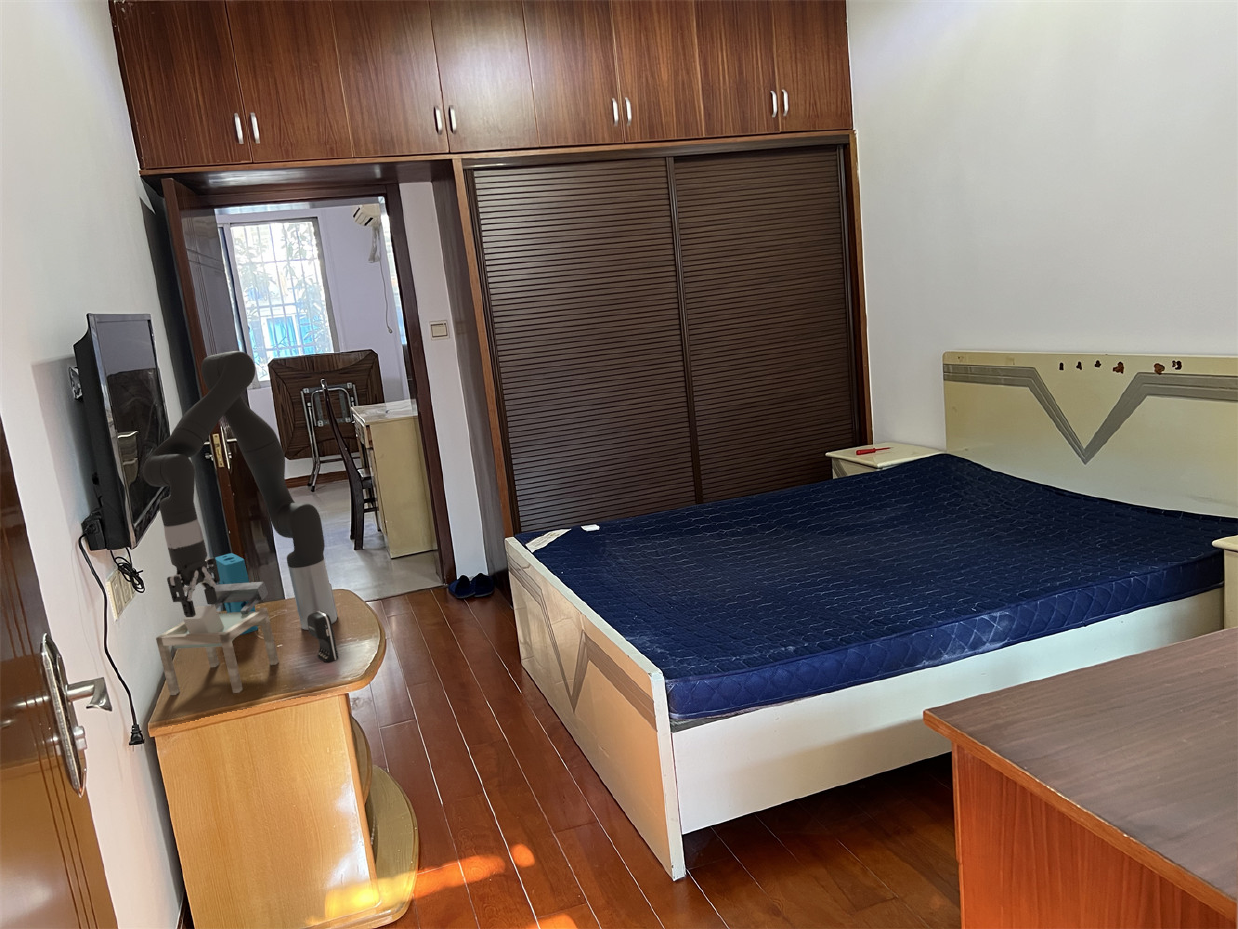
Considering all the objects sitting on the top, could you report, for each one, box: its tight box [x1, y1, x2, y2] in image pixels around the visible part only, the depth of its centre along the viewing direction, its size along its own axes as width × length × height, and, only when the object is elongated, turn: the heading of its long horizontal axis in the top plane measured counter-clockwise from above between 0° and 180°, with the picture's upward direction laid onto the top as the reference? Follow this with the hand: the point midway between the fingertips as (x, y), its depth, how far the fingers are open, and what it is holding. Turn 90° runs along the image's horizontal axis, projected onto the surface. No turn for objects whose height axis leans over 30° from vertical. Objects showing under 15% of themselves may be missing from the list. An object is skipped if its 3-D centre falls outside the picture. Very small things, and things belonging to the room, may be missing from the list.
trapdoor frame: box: [155, 607, 280, 696], centre depth 211 cm, size 16×18×14 cm
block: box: [214, 552, 259, 636], centre depth 244 cm, size 12×5×20 cm, turn 39°
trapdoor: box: [172, 581, 269, 650], centre depth 213 cm, size 20×14×4 cm
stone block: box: [182, 605, 224, 634], centre depth 207 cm, size 5×5×6 cm
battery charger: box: [307, 611, 339, 663], centre depth 215 cm, size 7×4×11 cm, turn 40°
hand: (201, 610), depth 207 cm, fingers open, 7 cm apart
